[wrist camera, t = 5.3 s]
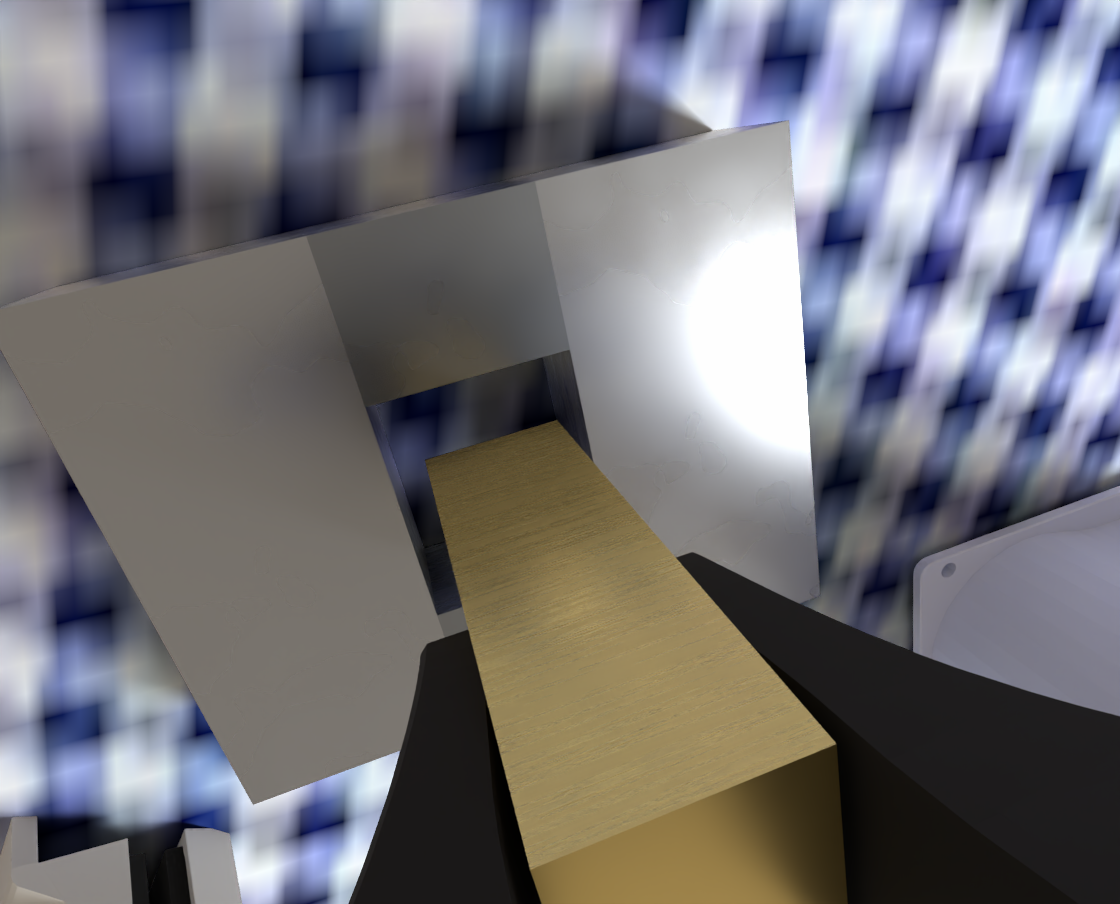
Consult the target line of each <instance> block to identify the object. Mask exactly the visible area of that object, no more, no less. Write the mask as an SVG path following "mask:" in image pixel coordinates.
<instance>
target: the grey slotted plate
mask: <svg viewBox="0 0 1120 904" xmlns="http://www.w3.org/2000/svg"><path fill="white" fill-rule="evenodd" d="M0 350H1V352H2V353H3V355H4V357H5V359H6V361H7V362H8V364H9V366H10V368H11V370H12V371H13V373H14V375H15V377H16V379H17V380H18V382H19V384H20V386H21V388H22V389H23V391H24V393H25V395H26V397H27V398H28V400H29V402H30V404H31V406H32V407H33V409H34V411H35V413H36V415H37V416H38V418H39V420H40V422H41V424H42V425H43V427H44V429H45V431H46V433H47V434H48V436H49V438H50V440H51V442H52V443H53V445H54V447H55V449H56V451H57V452H58V454H59V456H60V458H61V460H62V461H63V463H64V465H65V467H66V469H67V470H68V472H69V474H70V476H71V478H72V479H73V481H74V483H75V485H76V487H77V488H78V490H79V492H80V494H81V496H82V497H83V499H84V501H85V503H86V505H87V506H88V508H89V510H90V512H91V514H92V515H93V517H94V519H95V521H96V523H97V524H98V526H99V528H100V530H101V532H102V533H103V535H104V537H105V539H106V541H107V542H108V544H109V546H110V548H111V550H112V551H113V553H114V555H115V557H116V559H117V560H118V562H119V564H120V566H121V568H122V569H123V571H124V573H125V575H126V577H127V578H128V580H129V582H130V584H131V586H132V587H133V589H134V591H135V593H136V595H137V596H138V598H139V600H140V602H141V604H142V605H143V607H144V609H145V611H146V613H147V614H148V616H149V618H150V620H151V622H152V623H153V625H154V627H155V629H156V631H157V632H158V634H159V636H160V638H161V640H162V641H163V643H164V645H165V647H166V649H167V650H168V652H169V654H170V656H171V658H172V659H173V661H174V663H175V665H176V667H177V668H178V670H179V672H180V674H181V676H182V677H183V679H184V681H185V683H186V685H187V686H188V688H189V690H190V692H191V694H192V695H193V697H194V699H195V701H196V703H197V704H198V706H199V708H200V710H201V712H202V713H203V715H204V717H205V719H206V721H207V722H208V724H209V726H210V728H211V730H212V731H213V733H214V735H215V737H216V739H217V740H218V742H219V744H220V746H221V748H222V749H223V751H224V753H225V755H226V757H227V758H228V760H229V762H230V764H231V766H232V767H233V769H234V771H235V773H236V775H237V776H238V778H239V780H240V782H241V784H242V786H243V787H244V789H245V791H246V793H247V795H248V796H249V798H250V800H251V802H252V804H256V803H259V802H262V801H264V800H267V799H270V798H272V797H275V796H278V795H281V794H283V793H286V792H289V791H291V790H294V789H297V788H300V787H302V786H305V785H308V784H310V783H313V782H316V781H319V780H321V779H324V778H327V777H329V776H332V775H335V774H338V773H340V772H343V771H346V770H348V769H351V768H354V767H357V766H359V765H362V764H365V763H368V762H370V761H373V760H376V759H378V758H381V757H384V756H387V755H389V754H392V753H395V752H397V751H400V750H401V747H402V743H403V740H404V736H405V733H406V729H407V725H408V721H409V716H410V712H411V708H412V703H413V699H414V694H415V689H416V684H417V678H418V672H419V665H420V655H421V653H422V651H423V649H424V648H425V646H426V644H427V643H430V642H433V641H436V640H439V639H442V638H445V637H447V636H450V635H453V634H456V633H459V632H462V631H465V630H468V626H467V622H466V618H465V614H464V610H463V607H462V603H461V599H460V595H459V591H458V587H457V583H456V579H455V575H454V571H453V568H452V564H451V560H450V556H449V552H448V548H447V544H446V542H443V543H440V544H437V545H434V546H430V547H427V548H424V546H423V543H422V540H421V538H420V535H419V532H418V529H417V526H416V523H415V520H414V517H413V514H412V511H411V508H410V505H409V502H408V499H407V496H406V493H405V490H404V487H403V484H402V481H401V478H400V475H399V472H398V469H397V467H396V464H395V461H394V458H393V455H392V452H391V449H390V446H389V443H388V440H387V437H386V434H385V431H384V428H383V425H382V422H381V419H380V416H379V413H378V410H377V407H376V404H380V403H383V402H387V401H390V400H394V399H397V398H401V397H404V396H408V395H411V394H415V393H418V392H422V391H425V390H429V389H432V388H436V387H439V386H443V385H447V384H450V383H454V382H457V381H461V380H464V379H468V378H471V377H475V376H478V375H482V374H485V373H489V372H492V371H496V370H499V369H503V368H506V367H510V366H514V365H517V364H521V363H524V362H528V361H531V360H535V359H538V358H543V363H544V367H545V372H546V376H547V380H548V385H549V389H550V394H551V398H552V402H553V407H554V411H555V416H556V420H557V421H558V422H559V423H560V424H561V425H562V427H563V428H564V429H565V430H566V431H567V432H568V434H569V435H570V436H571V437H572V438H573V439H574V441H575V442H576V443H577V444H578V445H579V446H580V447H581V449H582V450H583V451H584V452H585V453H586V454H587V456H588V457H589V458H590V459H591V460H592V461H593V463H594V464H595V465H596V466H597V467H598V468H599V469H600V471H601V472H602V473H603V474H604V475H605V476H606V478H607V479H608V480H609V481H610V482H611V483H612V484H613V486H614V487H615V488H616V489H617V490H618V491H619V493H620V494H621V495H622V496H623V497H624V498H625V500H626V501H627V502H628V503H629V504H630V505H631V506H632V508H633V509H634V510H635V511H636V512H637V513H638V515H639V516H640V517H641V518H642V519H643V520H644V522H645V523H646V524H647V525H648V526H649V527H650V528H651V530H652V531H653V532H654V533H655V534H656V535H657V537H658V538H659V539H660V540H661V541H662V542H663V544H664V545H665V546H666V547H667V548H668V549H669V550H670V552H671V553H672V554H673V555H674V556H675V557H679V556H682V555H685V554H688V553H691V552H694V553H696V554H699V555H701V556H703V557H705V558H707V559H709V560H711V561H713V562H715V563H717V564H719V565H721V566H723V567H725V568H727V569H729V570H731V571H733V572H735V573H737V574H739V575H741V576H743V577H745V578H747V579H749V580H751V581H753V582H755V583H758V584H760V585H762V586H764V587H766V588H768V589H770V590H772V591H774V592H776V593H778V594H780V595H782V596H784V597H786V598H788V599H791V600H793V601H795V602H797V603H799V604H800V603H802V602H805V601H808V600H811V599H813V598H816V597H819V596H820V584H819V569H818V554H817V539H816V524H815V509H814V493H813V478H812V463H811V448H810V433H809V418H808V402H807V387H806V372H805V357H804V342H803V327H802V311H801V296H800V281H799V266H798V251H797V236H796V221H795V205H794V190H793V175H792V160H791V145H790V130H789V120H788V121H781V122H773V123H766V124H758V125H751V126H743V127H736V128H728V129H721V130H714V131H710V132H706V133H701V134H697V135H693V136H689V137H685V138H680V139H676V140H672V141H668V142H664V143H659V144H655V145H651V146H647V147H642V148H638V149H634V150H630V151H626V152H621V153H617V154H613V155H609V156H605V157H600V158H596V159H592V160H588V161H584V162H579V163H575V164H571V165H567V166H563V167H558V168H554V169H550V170H546V171H542V172H537V173H533V174H529V175H525V176H520V177H516V178H512V179H508V180H504V181H499V182H495V183H491V184H487V185H483V186H478V187H474V188H470V189H466V190H462V191H457V192H453V193H449V194H445V195H441V196H436V197H432V198H428V199H424V200H419V201H415V202H411V203H407V204H403V205H398V206H394V207H390V208H386V209H382V210H377V211H373V212H369V213H365V214H361V215H356V216H352V217H348V218H344V219H340V220H335V221H331V222H327V223H323V224H318V225H314V226H310V227H306V228H302V229H297V230H293V231H289V232H285V233H281V234H276V235H272V236H268V237H264V238H260V239H255V240H251V241H247V242H243V243H239V244H234V245H230V246H226V247H222V248H217V249H213V250H209V251H205V252H201V253H196V254H192V255H188V256H184V257H180V258H175V259H171V260H167V261H163V262H159V263H154V264H150V265H146V266H142V267H138V268H133V269H129V270H125V271H121V272H116V273H112V274H108V275H104V276H100V277H95V278H91V279H87V280H83V281H79V282H74V283H70V284H66V285H62V286H58V287H54V288H51V289H48V290H46V291H43V292H40V293H37V294H35V295H32V296H29V297H26V298H24V299H21V300H18V301H15V302H13V303H10V304H7V305H4V306H2V307H0Z"/></svg>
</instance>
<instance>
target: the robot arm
mask: <svg viewBox="0 0 1120 904" xmlns="http://www.w3.org/2000/svg"><path fill="white" fill-rule="evenodd" d="M676 559H677V560H678V561H679V562H680V563H681V564H682V566H683V567H684V568H685V569H686V570H687V571H688V572H689V574H690V575H691V576H692V577H693V578H694V579H695V581H696V582H697V583H698V584H699V585H700V586H701V587H702V589H703V590H704V591H705V592H706V593H707V594H708V596H709V597H710V598H711V599H712V600H713V601H714V603H715V604H716V605H717V606H718V607H719V608H720V609H721V611H722V612H723V613H724V614H725V615H726V616H727V618H728V619H729V620H730V621H731V622H732V623H733V625H734V626H735V627H736V628H737V629H738V630H739V631H740V633H741V634H742V635H743V636H744V637H745V638H746V640H747V641H748V642H749V643H750V644H751V645H752V647H753V648H754V649H755V650H756V651H757V652H758V653H759V655H760V656H761V657H762V658H763V659H764V660H765V662H766V663H767V664H768V665H769V666H770V667H771V668H772V670H773V671H774V672H775V673H776V674H777V675H778V677H779V678H780V679H781V680H782V681H783V682H784V684H785V685H786V686H787V687H788V688H789V689H790V690H791V692H792V693H793V694H794V695H795V696H796V697H797V699H798V700H799V701H800V702H801V703H802V704H803V706H804V707H805V708H806V709H807V710H808V711H809V712H810V714H811V715H812V716H813V717H814V718H815V719H816V721H817V722H818V723H819V724H820V725H821V726H822V728H823V729H824V730H825V731H826V732H827V733H828V734H829V736H830V737H831V738H832V739H833V740H834V741H835V743H836V744H837V757H838V771H839V786H840V800H841V815H842V829H843V844H844V858H845V873H846V887H847V902H848V904H1120V486H1117V487H1115V488H1112V489H1109V490H1106V491H1104V492H1101V493H1098V494H1096V495H1093V496H1090V497H1087V498H1085V499H1082V500H1079V501H1077V502H1074V503H1071V504H1068V505H1066V506H1063V507H1060V508H1058V509H1055V510H1052V511H1049V512H1047V513H1044V514H1041V515H1038V516H1036V517H1033V518H1030V519H1028V520H1025V521H1022V522H1019V523H1017V524H1014V525H1011V526H1009V527H1006V528H1003V529H1000V530H998V531H995V532H992V533H990V534H987V535H984V536H981V537H979V538H976V539H973V540H971V541H968V542H965V543H962V544H960V545H957V546H954V547H952V548H949V549H946V550H943V551H941V552H938V553H935V554H932V555H930V556H927V557H925V558H923V559H921V560H920V561H919V562H918V563H917V565H916V567H915V568H914V573H913V652H912V651H910V650H907V649H905V648H902V647H900V646H897V645H895V644H892V643H890V642H887V641H885V640H882V639H880V638H877V637H874V636H872V635H869V634H867V633H865V632H862V631H860V630H858V629H855V628H853V627H851V626H848V625H846V624H843V623H841V622H839V621H837V620H834V619H832V618H830V617H828V616H825V615H823V614H821V613H819V612H816V611H814V610H812V609H810V608H808V607H806V606H803V605H801V604H799V603H797V602H795V601H793V600H791V599H788V598H786V597H784V596H782V595H780V594H778V593H776V592H774V591H772V590H770V589H768V588H766V587H764V586H762V585H760V584H758V583H755V582H753V581H751V580H749V579H747V578H745V577H743V576H741V575H739V574H737V573H735V572H733V571H731V570H729V569H727V568H725V567H723V566H721V565H719V564H717V563H715V562H713V561H711V560H709V559H707V558H705V557H703V556H701V555H699V554H696V553H694V552H691V553H688V554H685V555H682V556H679V557H676ZM349 904H542V903H541V900H540V897H539V894H538V891H537V889H536V886H535V883H534V880H533V877H532V874H531V871H530V867H529V864H528V860H527V856H526V852H525V848H524V844H523V840H522V836H521V832H520V829H519V825H518V821H517V817H516V813H515V809H514V805H513V801H512V797H511V793H510V790H509V786H508V782H507V778H506V774H505V770H504V766H503V762H502V758H501V755H500V751H499V747H498V743H497V739H496V735H495V731H494V727H493V723H492V719H491V716H490V712H489V708H488V704H487V700H486V696H485V692H484V688H483V684H482V681H481V677H480V673H479V669H478V665H477V661H476V657H475V653H474V649H473V645H472V642H471V638H470V634H469V630H465V631H462V632H459V633H456V634H453V635H450V636H447V637H445V638H442V639H439V640H436V641H433V642H430V643H427V644H426V646H425V648H424V649H423V651H422V653H421V655H420V665H419V672H418V678H417V684H416V689H415V694H414V699H413V703H412V708H411V712H410V716H409V721H408V725H407V729H406V733H405V736H404V740H403V743H402V747H401V751H400V754H399V758H398V761H397V765H396V768H395V772H394V776H393V779H392V783H391V786H390V789H389V792H388V795H387V799H386V802H385V805H384V807H383V810H382V813H381V816H380V819H379V822H378V825H377V828H376V830H375V833H374V836H373V839H372V842H371V845H370V848H369V851H368V854H367V856H366V859H365V862H364V865H363V868H362V870H361V873H360V876H359V878H358V881H357V883H356V886H355V889H354V891H353V894H352V896H351V899H350V901H349Z"/></svg>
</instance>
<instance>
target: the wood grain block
mask: <svg viewBox="0 0 1120 904" xmlns="http://www.w3.org/2000/svg"><path fill="white" fill-rule="evenodd" d="M425 462H426V466H427V470H428V474H429V478H430V482H431V486H432V490H433V494H434V497H435V501H436V505H437V509H438V513H439V517H440V521H441V525H442V529H443V533H444V536H445V540H446V544H447V548H448V552H449V556H450V560H451V564H452V568H453V571H454V575H455V579H456V583H457V587H458V591H459V595H460V599H461V603H462V607H463V610H464V614H465V618H466V622H467V626H468V630H469V634H470V638H471V642H472V645H473V649H474V653H475V657H476V661H477V665H478V669H479V673H480V677H481V681H482V684H483V688H484V692H485V696H486V700H487V704H488V708H489V712H490V716H491V719H492V723H493V727H494V731H495V735H496V739H497V743H498V747H499V751H500V755H501V758H502V762H503V766H504V770H505V774H506V778H507V782H508V786H509V790H510V793H511V797H512V801H513V805H514V809H515V813H516V817H517V821H518V825H519V829H520V832H521V836H522V840H523V844H524V848H525V852H526V856H527V860H528V864H529V867H530V871H531V874H532V877H533V880H534V883H535V886H536V889H537V891H538V894H539V897H540V900H541V903H542V904H848V902H847V887H846V873H845V858H844V844H843V829H842V815H841V800H840V786H839V771H838V757H837V744H836V743H835V741H834V740H833V739H832V738H831V737H830V736H829V734H828V733H827V732H826V731H825V730H824V729H823V728H822V726H821V725H820V724H819V723H818V722H817V721H816V719H815V718H814V717H813V716H812V715H811V714H810V712H809V711H808V710H807V709H806V708H805V707H804V706H803V704H802V703H801V702H800V701H799V700H798V699H797V697H796V696H795V695H794V694H793V693H792V692H791V690H790V689H789V688H788V687H787V686H786V685H785V684H784V682H783V681H782V680H781V679H780V678H779V677H778V675H777V674H776V673H775V672H774V671H773V670H772V668H771V667H770V666H769V665H768V664H767V663H766V662H765V660H764V659H763V658H762V657H761V656H760V655H759V653H758V652H757V651H756V650H755V649H754V648H753V647H752V645H751V644H750V643H749V642H748V641H747V640H746V638H745V637H744V636H743V635H742V634H741V633H740V631H739V630H738V629H737V628H736V627H735V626H734V625H733V623H732V622H731V621H730V620H729V619H728V618H727V616H726V615H725V614H724V613H723V612H722V611H721V609H720V608H719V607H718V606H717V605H716V604H715V603H714V601H713V600H712V599H711V598H710V597H709V596H708V594H707V593H706V592H705V591H704V590H703V589H702V587H701V586H700V585H699V584H698V583H697V582H696V581H695V579H694V578H693V577H692V576H691V575H690V574H689V572H688V571H687V570H686V569H685V568H684V567H683V566H682V564H681V563H680V562H679V561H678V560H677V559H676V557H675V556H674V555H673V554H672V553H671V552H670V550H669V549H668V548H667V547H666V546H665V545H664V544H663V542H662V541H661V540H660V539H659V538H658V537H657V535H656V534H655V533H654V532H653V531H652V530H651V528H650V527H649V526H648V525H647V524H646V523H645V522H644V520H643V519H642V518H641V517H640V516H639V515H638V513H637V512H636V511H635V510H634V509H633V508H632V506H631V505H630V504H629V503H628V502H627V501H626V500H625V498H624V497H623V496H622V495H621V494H620V493H619V491H618V490H617V489H616V488H615V487H614V486H613V484H612V483H611V482H610V481H609V480H608V479H607V478H606V476H605V475H604V474H603V473H602V472H601V471H600V469H599V468H598V467H597V466H596V465H595V464H594V463H593V461H592V460H591V459H590V458H589V457H588V456H587V454H586V453H585V452H584V451H583V450H582V449H581V447H580V446H579V445H578V444H577V443H576V442H575V441H574V439H573V438H572V437H571V436H570V435H569V434H568V432H567V431H566V430H565V429H564V428H563V427H562V425H561V424H560V423H559V422H558V421H557V420H556V421H552V422H549V423H546V424H542V425H539V426H536V427H532V428H529V429H526V430H522V431H519V432H516V433H513V434H509V435H506V436H503V437H499V438H496V439H493V440H489V441H486V442H483V443H479V444H476V445H473V446H470V447H466V448H463V449H460V450H456V451H453V452H450V453H446V454H443V455H440V456H436V457H433V458H430V459H427V460H425Z"/></svg>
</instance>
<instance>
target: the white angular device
mask: <svg viewBox="0 0 1120 904" xmlns="http://www.w3.org/2000/svg"><path fill="white" fill-rule="evenodd" d="M0 904H242V900H241V895H240V889H239V884H238V878H237V872H236V867H235V861H234V856H233V850H232V844H231V839H230V834H228V833H225V832H222V831H218V830H215V829H211V828H190V829H185V830H184V832H183V834H182V837H181V839H180V841H179V844H178V846H177V847H176V848H170V849H165V852H164V854H163V857H162V860H161V862H160V865H159V867H158V870H157V873H156V875H155V878H154V881H153V883H152V886H151V889H150V891H149V893H148V882H147V870H146V859H145V853H143V854H138V855H132V856H129V850H128V838H127V839H123V840H120V841H116V842H112V843H109V844H105V845H102V846H98V847H94V848H91V849H87V850H84V851H80V852H76V853H73V854H69V855H66V856H62V857H58V858H55V859H51V860H47V861H44V862H40V863H38V833H37V816H31V817H12V819H11V822H10V825H9V828H8V832H7V835H6V838H5V842H4V845H3V848H2V851H1V855H0Z"/></svg>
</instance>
